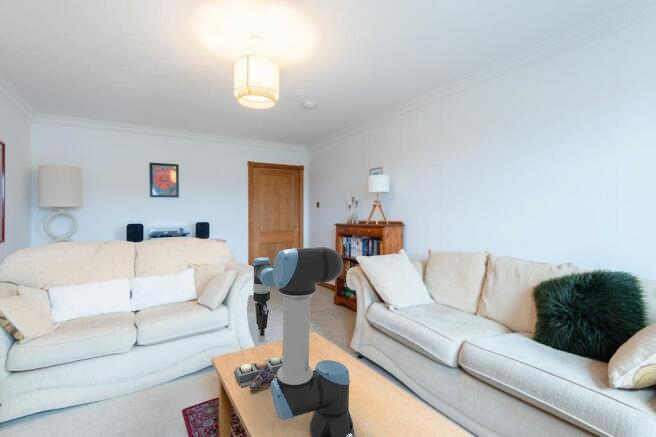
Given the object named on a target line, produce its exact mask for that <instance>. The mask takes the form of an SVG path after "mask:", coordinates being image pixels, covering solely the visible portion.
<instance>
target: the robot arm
mask: <svg viewBox="0 0 656 437" xmlns="http://www.w3.org/2000/svg"><path fill="white" fill-rule="evenodd" d="M343 269H344V262H343V258H342V256H341V255H340V254H339V252H338V251H336V250H335V249H333V248H330V247H324V246H323V247H322V246H321V247H297V248H295V247H292V248H287V249H282V250H280V251H279V252H278V253H277V255H276V256H275V258H274V262H273V265H272V263H271V258H270V257H266V256H265V257H264V256H263V257H262V256H261V257H256V258H255V259H253V286H252V287H253V293H252V294H253V298H252V299H253V301H254V307H255V318H256V320H255V321H256V325H257V342H258V343H259V344H260V343H264V342H265V340H266V338H265V335H266V333H265V332H266V329H267V327H268V319H269V318H268V317H269V312H270V309H267V308H268V304H267V302H268V301H270V300H271V288H272V287H275V288H278V292H279V294H281V296H282V297H283V304H282V305H283V308H282V310H283V311H282V312H283V314H282V315H283V316H282V350H281V351H282V354H281V355H282V356H281V358H282V367H281V368H280V369H279V370H278V372H277V378H274V380H273V381H272V382H271V384H270V393H271V397H272V403H273V406H274V410H275V413H276V414H277V416H278V418H279V419H281V420H288V419H294V418H296V417H298V416H302V415H305V414H308V413H312V412H313V414H312V416H311V419H310V422H309V435H310V437H346V436H347V435H348V434H350V433H351V434H353V435H354V422H353V419H352V416H351V413H350V408H349V405H350V383H351V380H350V373H349V372H350V371H349V369H348V368H347V366H346V365H344V364H343V363H341V362H339V361H336V360H329V359H325V360H320V361H318V362H317V363H316V365H315V367H314V368H315V369H314V370H313V369H312V368H311V367H310V365H309V364H310V361H309V360H310V334H311V332H310V330H311V298H312V296H313V295H314V294H315V293H316V289H317V288H316V287H317V284H318V285H319V284H320V285H321V284H325V283H330V282H332V281H334V280H337V278H339V277H340V276H341V274H342V273H343Z"/></svg>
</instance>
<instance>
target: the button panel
mask: <svg viewBox="0 0 656 437" xmlns="http://www.w3.org/2000/svg"><path fill="white" fill-rule="evenodd" d="M278 357H279V358H280V364H278V365H275V366H272V365H271V358H268V359H266V360H264V361H266V367H271V368H272V370H273V371H274V379H277V372H278V370H279V369H280V368H281V367H282V356H278ZM256 363H257V362H253V363H249V364H250V365H251V372H248V373H244V374H242V373H241V366H238V367H235V368H234V370H233V374H234V376H235V378H236V381H237V382H238V385H239V387H240V388H241V389H242V388H246V387H250V385H251V384H252V382H253V381H254V379H255V377H256V376H257V375H258V374H259V371H260V370H261V369H259V370H257V369H256Z"/></svg>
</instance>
